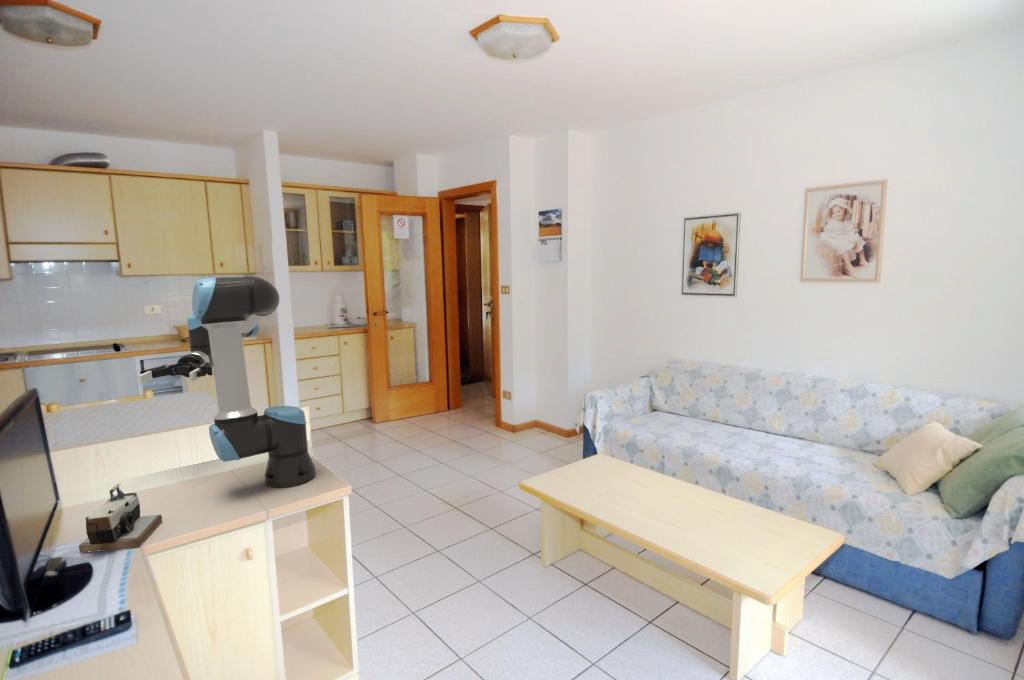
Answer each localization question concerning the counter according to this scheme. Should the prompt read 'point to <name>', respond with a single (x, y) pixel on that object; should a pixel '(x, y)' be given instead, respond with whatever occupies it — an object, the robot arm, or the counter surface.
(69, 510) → the counter surface
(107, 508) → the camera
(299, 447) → the robot arm
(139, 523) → the walnut stand
